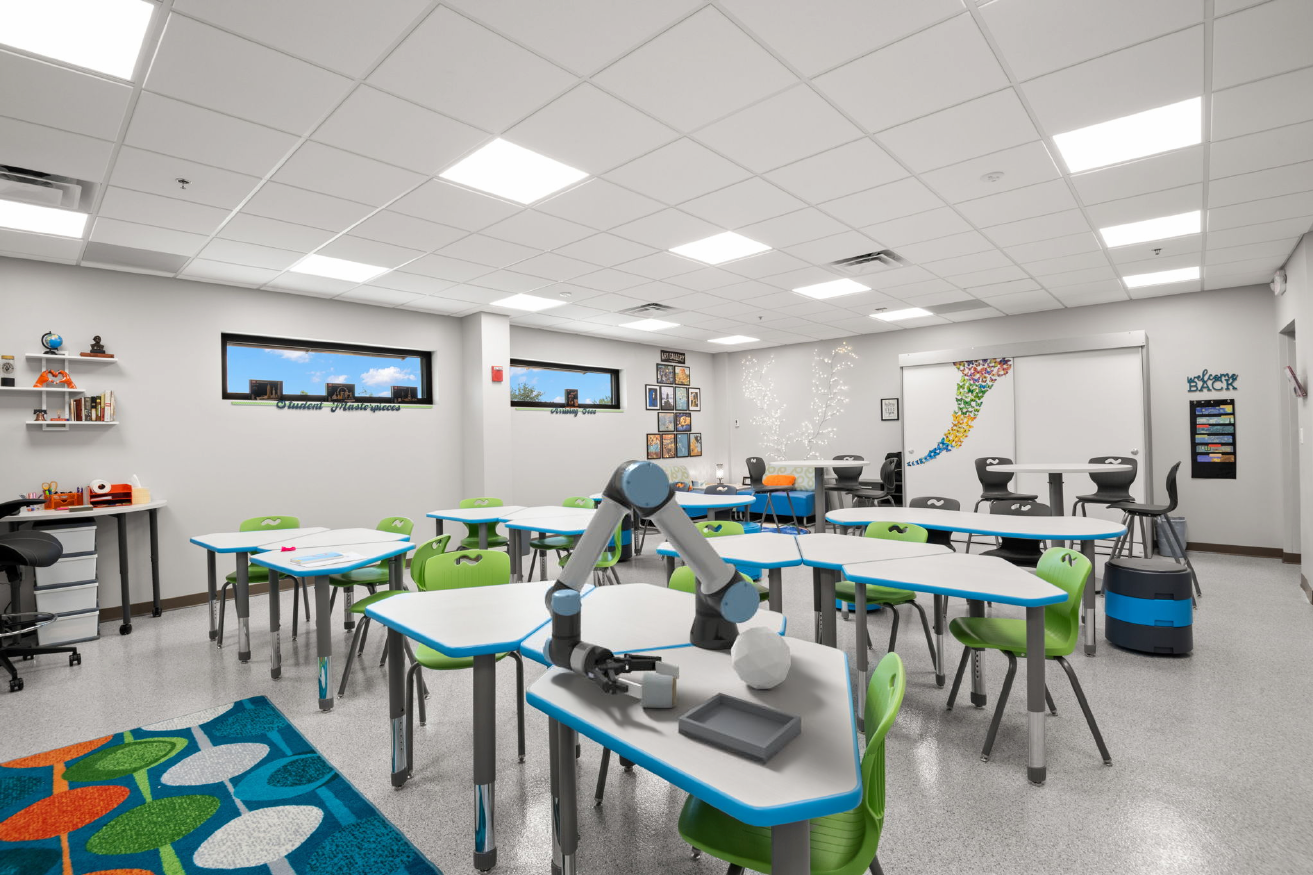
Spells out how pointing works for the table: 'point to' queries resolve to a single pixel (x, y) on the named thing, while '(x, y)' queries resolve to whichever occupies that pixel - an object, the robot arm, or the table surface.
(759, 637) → the geometric shape
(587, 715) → the table surface
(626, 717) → the table surface
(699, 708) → the tray
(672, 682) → the grey rounded cylinder
